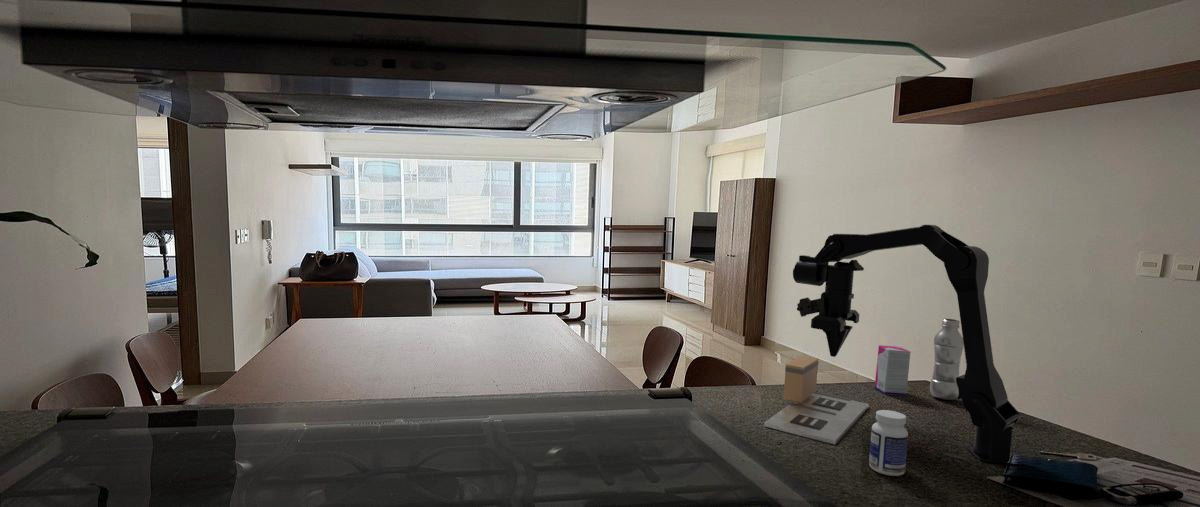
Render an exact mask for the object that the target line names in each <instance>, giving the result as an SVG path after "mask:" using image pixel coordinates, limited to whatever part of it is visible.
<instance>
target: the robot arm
mask: <svg viewBox="0 0 1200 507" xmlns="http://www.w3.org/2000/svg"><path fill="white" fill-rule="evenodd" d="M914 246H924V247H925V248H926V249H927V250H928V251H929V252H930V253H931V254H933V256H934V257H935V258H938V260H940V262H942V263H943V266H944V268H945V272H946V275H947V277H948V281H949V282H950V285H951V286H952V287H953V289H954V291H955V293H956V296H957V304H958V311H959V312H958V313H959V318H960V320H959V321H960V326H961V333H962V334H961V336H962V338H963V343H964V347H963V350H964V357H965V364H966V368H965V372H964V374H962V375H959V377H956V383H957V386H958V390H959V395H958V398H957V400H960V399H961V403H962V406H963V408H964V409H965V410H966V411H967V412H968V413H969V416H970V419H971V422H972V423H971V424H972V426H974V427H975V433H974V442H973V444H974V445H965V449H967V450H968V452H970V453H971V454H972V455H973V456H974V457H975V458H977V459H978V460H979V461H981V462H986V463H987V462H989V463H994V464H996V463H997V464H1005V465H1008V464H1007V462H1008V461H1009V459H1010V456H1011V454H1012V453H1011V452H1012V451H1011V450H1012V446H1013V445H1012V443H1013V435H1014V434H1013V432H1014V427H1013V425H1016V424H1017V423H1018V421H1019V420H1020V418H1021V413H1020V412H1019V411H1018V409H1016V407H1015V406H1014V405H1013V404H1012V403H1011V402H1010V401H1009V399H1008V398H1009V397H1008V394H1007V391H1006V388H1005V385H1004V382H1003V379H1002V378H1001V376H1000V374H999V371H998V370H997V369H996V366H995V364H994V356H993V349H992V348H993V347H992V343H991V342H992V341H991V334H990V327H989V319H988V312H987V305H986V296H985V289H986V284H987V281H988V278H989V268H990V267H989V266H990V265H989V263H990V258H989V255H988V254H987V252H986V251H985V250H983V249H982V248H980V247H978V246H975V245H971V246H970V245H968V244H967V243H966V242H964V241H962V240H961V239H959V238H958V237H955V236H954V235H951V234H950V233H948V232H947V231H945V230H944V229H942V228H941V227H939V225H936V224H922V225H920V226H919V225H918V226H914V227H908V228H900V229H895V230H893V229H892V230H889V231H888V230H887V231H881V232H880V231H879V232H874V233H868V234H867V233H866V234H863V233H862V234H859V233H854V234H853V233H833V234H832V233H831V234H830V235H828V236H827V238H826V240H825V242H824V245H823V247H822V248H821V249H820V250H819V251H818V253H817V254H816V255H815V256H810V255H804V254H803V255H801V254H800V255H799V256H798V261H796V262H795V265H794V268H793V270H792V278H793V281H794V282H795V283H797V284H801V285H810V286H815V287H816V286H817V287H821V286H823V285H824V283H825V287H824V288H825V289H824V291H823V292H821V294H820V298H816V299H812V300H811V299H810V298H809V297H803V298H800V299H799V302H798V303H796V305H797V308H796V310H797V311H798V312H799V314H800V315H799V316H800V317H802V318H803V317H807V316H809V315H812V314H817V313H818V314H817V315H815V316H814V317H813V318H811V321H810V328H811V329H815V330H820V331H821V330H822V332H824V334H825V336H826V340H827V345H828V346H827V347H828V352H829V356H830V357H833V358H836V357H837V355H838V354H839V352H840V350H841V348H842V346H843V345H844V343H845V341H846V339H847V338H848V336H849V334H850V332H851V331H852V329H853V326H852V325H848V324H847V321H848V322H853V324H857V323H859V322H860V313H859V312H858V311H857V310H856V309H852V300H853V299H855V298H854V297H855V294H854V293H853V286H854V284H853V283H854V275H855V274H854V273H855V272H861V271H864V269H865V268H864V267H863V266H862V265H861V264H860V263H859V262H858V260H857V259H855V258H858V257H861V256H864V255H866V254H869V253H872V252H875V251H882V250H883V251H884V250H891V249H898V248H899V249H901V248H906V247H914ZM842 260H850V261H849V262H848V261H847V262H846V261H842ZM829 263H834V264H829Z"/></svg>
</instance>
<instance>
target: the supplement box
mask: <svg viewBox="0 0 1200 507" xmlns="http://www.w3.org/2000/svg"><path fill="white" fill-rule="evenodd" d="M877 351H878V352H877V359H876V360H877V361H876V370H875V378H874V389H875V390H877V391H879V392H880V393H882V394H883V395H890V396H893V395H894V396H906V395H907V393H908V392H907V391H908V390H907V389H908V380H909V372H910V371H909V370H910V363H911V362H910V360H911V351H909V350H908V349H905V348H903V347H901V346H895V345H894V346H892V345H880V344H879V345H878V350H877Z"/></svg>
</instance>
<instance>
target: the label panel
mask: <svg viewBox="0 0 1200 507" xmlns="http://www.w3.org/2000/svg"><path fill="white" fill-rule="evenodd" d="M869 404H870V403H866V402H862V401H857V400H851V398H847V397H842V396H837V395H833V394H828V393H823V392H818V391H815V392H814V393H813V394H811V395H810V396H809V397H807V398H806V399H805V400H803V401H802V402H797V401H791V402H790V403H789V404H788V405H786V406H785V407H784V408H782V409H781V410H779V411H778V412H777V413H775V414H774V415H772V416H771V417H770V418H769V419H767V420H765V421H764V423H763V427H766V428H767V429H768V428H769V429H773V430H777V431H781V432H784V433H788V434H793V435H795V436H799V437H803V438H807V439H812V440H815V441H819V442H822V443H827V444H829V445H830V444H831V445H834V446H835V445H836V444H837V443H838V442H839V441H840V440H841V439H842V437H843V436H844V435H845V434H846V433H847V432H848V431H849V430H850V429H851V427H853V425H854V424H855V423H856V422H857V421H858V419H860V417H861V416H862V415H863V414H864V413H865V411H867V410H868V409H869Z"/></svg>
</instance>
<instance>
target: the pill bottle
mask: <svg viewBox="0 0 1200 507" xmlns="http://www.w3.org/2000/svg"><path fill="white" fill-rule="evenodd" d="M875 420H876V422H874V423H873V424H872V426H871V430H870V431H871V434H870V443H869V444H870V445H869V457H868V458H869V461H868V464H869V467H870V468H871V469H872V470H873V471H874V472H877V473H879V474H882V475H885V476H891V477H892V476H894V477H900V476H903V475H904V474H905V473H906V465H907V453H908V443H909V442H908V441H909V433H908V430H907V428H905V425H906V424H907V415H905V414H903V413H901V412H898V411H894V410H887V409H881V410H877V411H876V412H875Z"/></svg>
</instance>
